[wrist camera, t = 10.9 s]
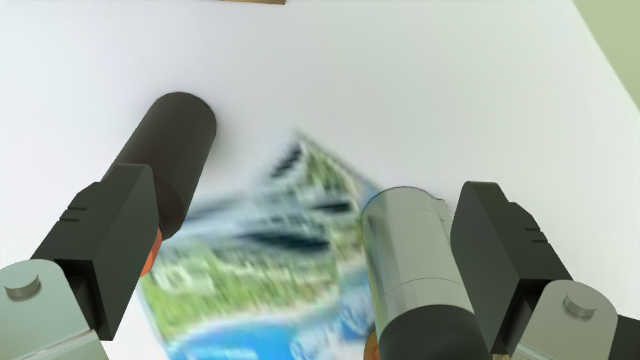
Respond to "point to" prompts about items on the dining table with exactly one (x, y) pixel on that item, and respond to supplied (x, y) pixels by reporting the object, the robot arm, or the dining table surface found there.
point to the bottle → (171, 157)
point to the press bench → (261, 1)
